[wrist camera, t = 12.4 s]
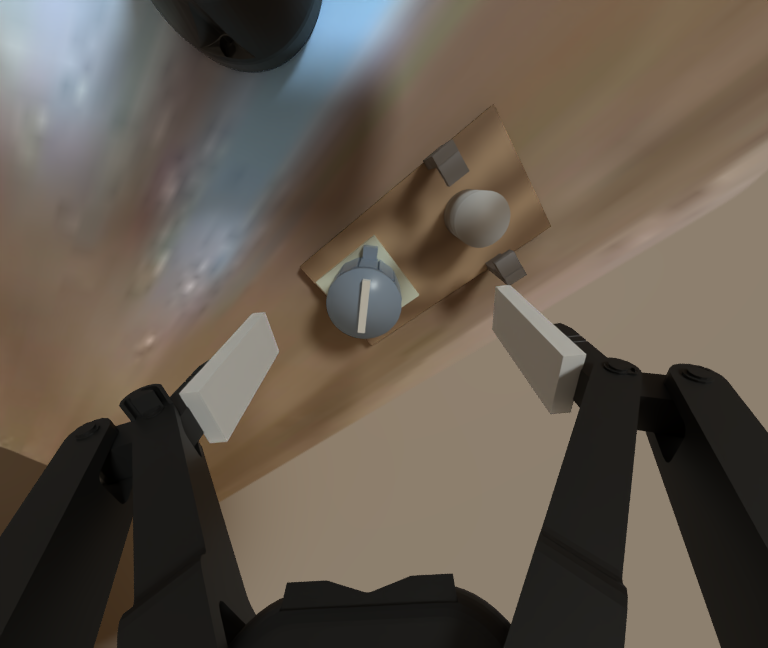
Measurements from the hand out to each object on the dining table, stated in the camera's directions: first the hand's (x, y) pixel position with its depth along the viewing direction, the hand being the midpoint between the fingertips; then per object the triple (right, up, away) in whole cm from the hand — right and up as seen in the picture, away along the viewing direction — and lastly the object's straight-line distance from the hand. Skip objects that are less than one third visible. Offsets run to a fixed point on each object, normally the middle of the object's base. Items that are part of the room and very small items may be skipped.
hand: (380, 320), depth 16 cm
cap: (-2, +4, +18) cm, 19 cm away
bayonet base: (+5, +9, +18) cm, 21 cm away
